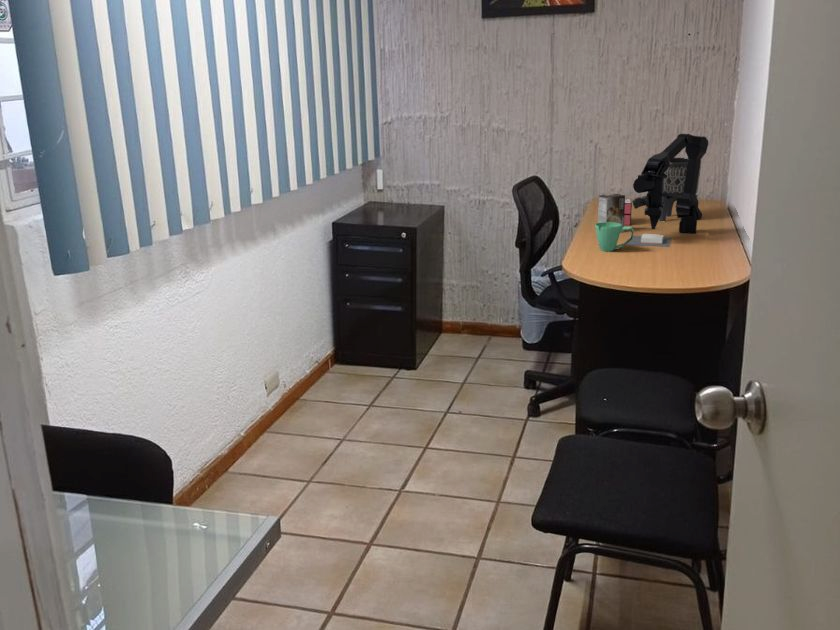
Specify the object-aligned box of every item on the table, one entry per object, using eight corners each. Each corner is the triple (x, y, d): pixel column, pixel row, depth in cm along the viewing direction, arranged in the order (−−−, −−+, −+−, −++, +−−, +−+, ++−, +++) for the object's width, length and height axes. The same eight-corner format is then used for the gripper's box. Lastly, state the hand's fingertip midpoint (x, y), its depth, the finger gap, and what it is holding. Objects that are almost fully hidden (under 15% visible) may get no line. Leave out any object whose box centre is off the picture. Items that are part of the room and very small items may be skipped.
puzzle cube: (630, 225, 357) (631, 203, 354) (607, 225, 359) (608, 202, 356) (629, 221, 366) (631, 199, 363) (607, 221, 368) (608, 199, 365)
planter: (700, 216, 371) (705, 158, 363) (692, 224, 355) (697, 163, 347) (656, 214, 380) (660, 156, 372) (647, 221, 364) (650, 162, 356)
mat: (671, 238, 329) (671, 237, 329) (669, 248, 313) (669, 246, 313) (631, 236, 335) (631, 235, 334) (626, 246, 318) (626, 244, 318)
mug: (592, 252, 311) (593, 226, 308) (596, 246, 319) (597, 221, 316) (632, 254, 306) (633, 228, 303) (634, 248, 315) (635, 223, 312)
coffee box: (615, 230, 347) (616, 193, 343) (624, 233, 342) (626, 195, 337) (596, 232, 344) (598, 195, 339) (605, 235, 338) (607, 197, 334)
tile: (663, 234, 325) (662, 238, 318) (663, 239, 326) (661, 243, 319) (642, 233, 328) (641, 237, 320) (642, 238, 328) (640, 242, 321)
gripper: (636, 186, 330) (634, 223, 335) (632, 193, 313) (630, 233, 318) (665, 186, 327) (662, 225, 331) (662, 194, 310) (659, 234, 315)
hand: (653, 229), depth 324 cm, fingers closed
